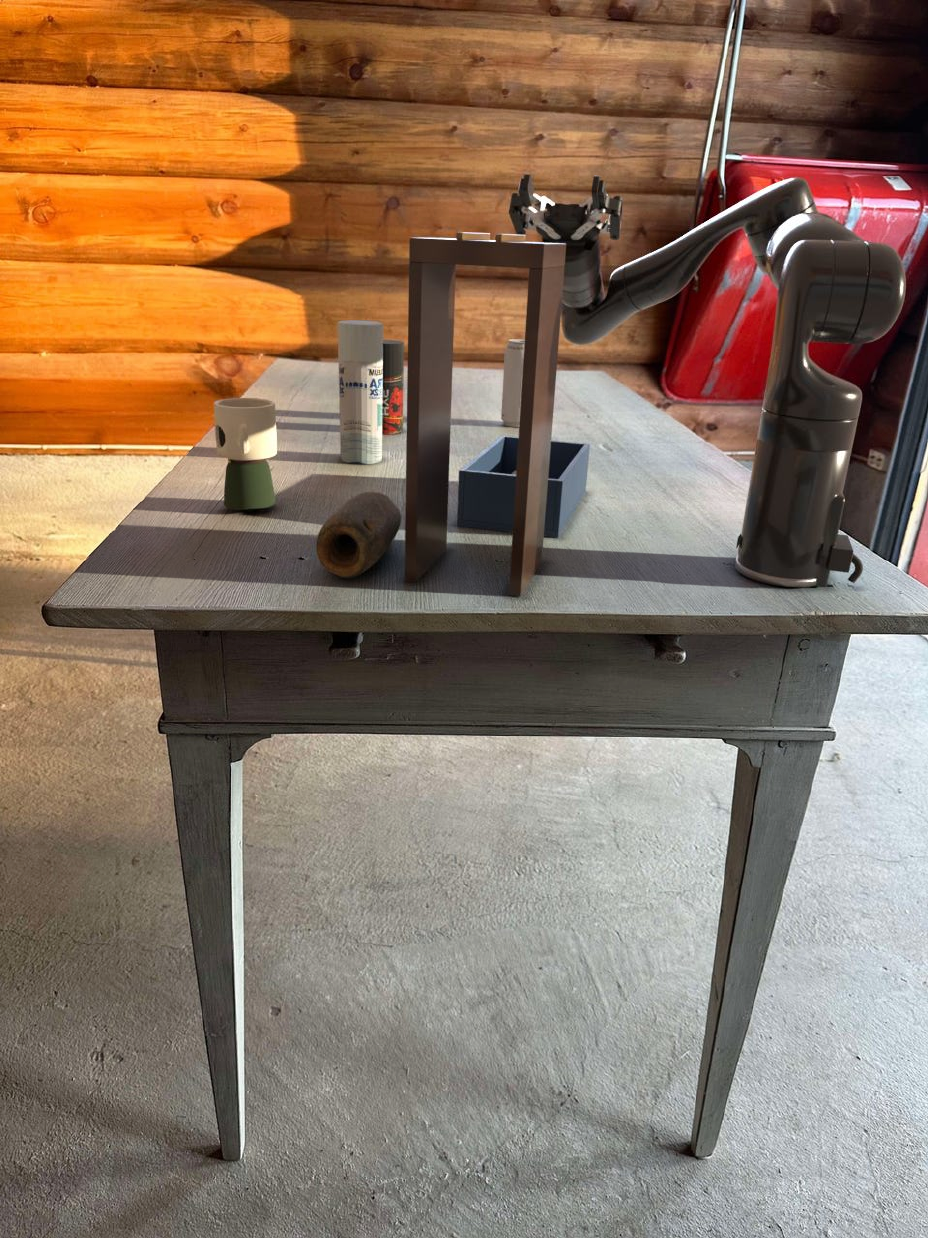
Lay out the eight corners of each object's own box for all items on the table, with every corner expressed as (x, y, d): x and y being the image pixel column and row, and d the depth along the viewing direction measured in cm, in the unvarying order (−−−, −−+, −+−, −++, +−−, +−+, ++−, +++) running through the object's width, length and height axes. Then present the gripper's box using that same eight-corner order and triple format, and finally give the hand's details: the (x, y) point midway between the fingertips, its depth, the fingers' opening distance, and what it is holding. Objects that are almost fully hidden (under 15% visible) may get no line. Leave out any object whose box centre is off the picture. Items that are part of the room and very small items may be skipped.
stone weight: (383, 587, 90) (383, 522, 87) (313, 583, 90) (311, 518, 88) (403, 540, 104) (404, 482, 101) (342, 536, 104) (342, 479, 102)
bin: (585, 492, 126) (590, 443, 124) (558, 537, 107) (562, 481, 104) (498, 483, 129) (501, 435, 127) (456, 525, 110) (458, 470, 107)
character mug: (223, 496, 117) (217, 394, 112) (280, 496, 118) (275, 394, 113) (217, 521, 107) (209, 410, 102) (278, 521, 109) (274, 411, 104)
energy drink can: (515, 420, 173) (520, 338, 167) (539, 425, 169) (545, 341, 163) (494, 423, 169) (498, 339, 163) (518, 429, 165) (524, 343, 159)
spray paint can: (345, 453, 142) (344, 319, 134) (386, 456, 142) (387, 321, 134) (334, 462, 136) (332, 323, 129) (377, 465, 136) (377, 325, 128)
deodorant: (372, 434, 156) (372, 343, 150) (366, 427, 161) (365, 339, 155) (406, 433, 158) (407, 343, 152) (398, 426, 163) (399, 339, 157)
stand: (541, 561, 99) (566, 236, 86) (520, 597, 89) (545, 235, 76) (436, 548, 102) (445, 231, 89) (404, 581, 92) (409, 229, 79)
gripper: (527, 225, 128) (508, 151, 112) (628, 229, 125) (624, 154, 109) (518, 275, 127) (498, 208, 112) (620, 281, 124) (614, 212, 108)
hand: (560, 181), depth 110 cm, fingers open, 8 cm apart
